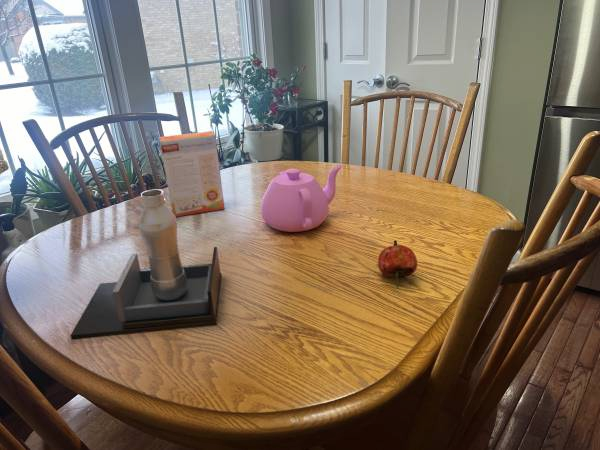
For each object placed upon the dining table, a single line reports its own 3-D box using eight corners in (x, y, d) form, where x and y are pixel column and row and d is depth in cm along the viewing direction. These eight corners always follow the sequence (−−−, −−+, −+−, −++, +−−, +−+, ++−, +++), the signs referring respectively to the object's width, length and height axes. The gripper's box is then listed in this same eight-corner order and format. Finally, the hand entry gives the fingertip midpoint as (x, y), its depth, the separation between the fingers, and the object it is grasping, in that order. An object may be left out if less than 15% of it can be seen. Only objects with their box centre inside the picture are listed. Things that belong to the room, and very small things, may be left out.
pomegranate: (417, 296, 84) (419, 248, 88) (414, 282, 78) (416, 232, 82) (379, 294, 86) (382, 248, 91) (373, 280, 80) (377, 232, 85)
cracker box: (221, 202, 126) (212, 130, 117) (225, 209, 121) (216, 134, 112) (171, 209, 122) (158, 135, 113) (173, 217, 117) (159, 140, 108)
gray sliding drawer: (120, 325, 74) (112, 292, 71) (138, 283, 86) (131, 253, 83) (210, 316, 75) (205, 283, 72) (215, 276, 87) (211, 247, 84)
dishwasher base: (71, 339, 72) (60, 305, 69) (100, 286, 87) (92, 256, 84) (216, 325, 74) (211, 291, 71) (221, 276, 89) (217, 246, 86)
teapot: (361, 229, 106) (363, 175, 100) (276, 246, 100) (272, 189, 94) (325, 199, 125) (325, 152, 119) (252, 212, 118) (247, 162, 113)
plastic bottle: (162, 309, 76) (140, 203, 68) (147, 293, 81) (125, 192, 73) (195, 296, 80) (178, 193, 71) (180, 281, 85) (162, 183, 76)
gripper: (-40, 172, 83) (36, 167, 84) (-123, 214, 64) (-24, 207, 65) (-53, 139, 80) (26, 134, 81) (-143, 173, 62) (-39, 166, 63)
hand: (3, 167), depth 73 cm, fingers closed
